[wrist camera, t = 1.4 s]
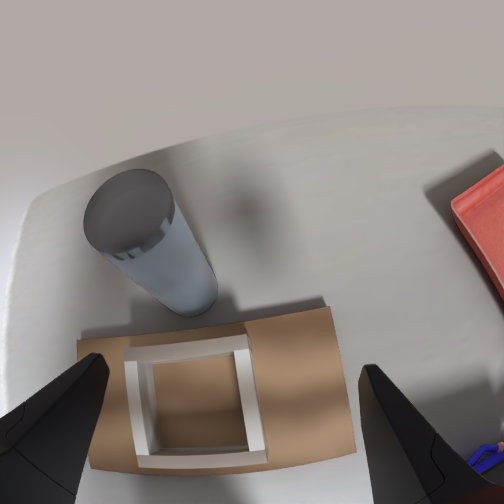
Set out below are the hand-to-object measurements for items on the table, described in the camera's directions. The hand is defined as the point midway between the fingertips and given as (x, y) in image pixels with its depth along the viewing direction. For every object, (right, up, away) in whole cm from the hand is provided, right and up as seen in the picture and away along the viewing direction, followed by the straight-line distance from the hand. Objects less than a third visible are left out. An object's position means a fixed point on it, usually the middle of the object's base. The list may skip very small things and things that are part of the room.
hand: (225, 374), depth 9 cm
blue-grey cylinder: (-4, +1, +16) cm, 17 cm away
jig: (-3, -8, +12) cm, 15 cm away
